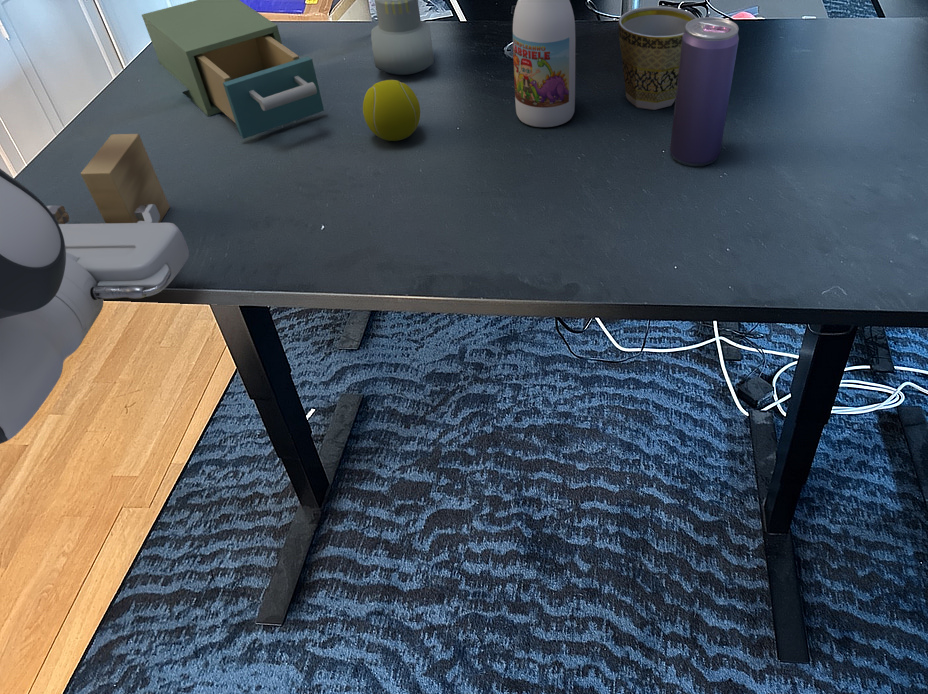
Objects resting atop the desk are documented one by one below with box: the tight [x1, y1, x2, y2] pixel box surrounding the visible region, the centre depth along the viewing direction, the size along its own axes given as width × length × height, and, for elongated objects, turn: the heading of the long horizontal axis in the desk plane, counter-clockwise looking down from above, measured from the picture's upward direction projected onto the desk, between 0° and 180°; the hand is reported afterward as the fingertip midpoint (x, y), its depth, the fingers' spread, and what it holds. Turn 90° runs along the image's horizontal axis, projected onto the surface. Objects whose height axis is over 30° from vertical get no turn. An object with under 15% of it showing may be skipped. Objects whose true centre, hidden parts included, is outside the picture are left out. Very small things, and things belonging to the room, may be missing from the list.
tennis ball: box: [362, 79, 421, 142], centre depth 96 cm, size 7×7×7 cm
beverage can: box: [669, 16, 740, 167], centre depth 88 cm, size 6×6×15 cm
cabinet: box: [141, 0, 283, 117], centre depth 108 cm, size 17×13×9 cm
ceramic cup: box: [617, 5, 698, 111], centre depth 101 cm, size 13×10×10 cm
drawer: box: [194, 34, 325, 139], centre depth 100 cm, size 20×11×7 cm, turn 38°
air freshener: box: [370, 0, 435, 76], centre depth 109 cm, size 11×8×10 cm
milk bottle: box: [512, 0, 576, 128], centre depth 94 cm, size 8×8×20 cm
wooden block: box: [80, 133, 170, 223], centre depth 82 cm, size 8×3×9 cm, turn 179°
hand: (105, 210), depth 78 cm, fingers open, 8 cm apart
